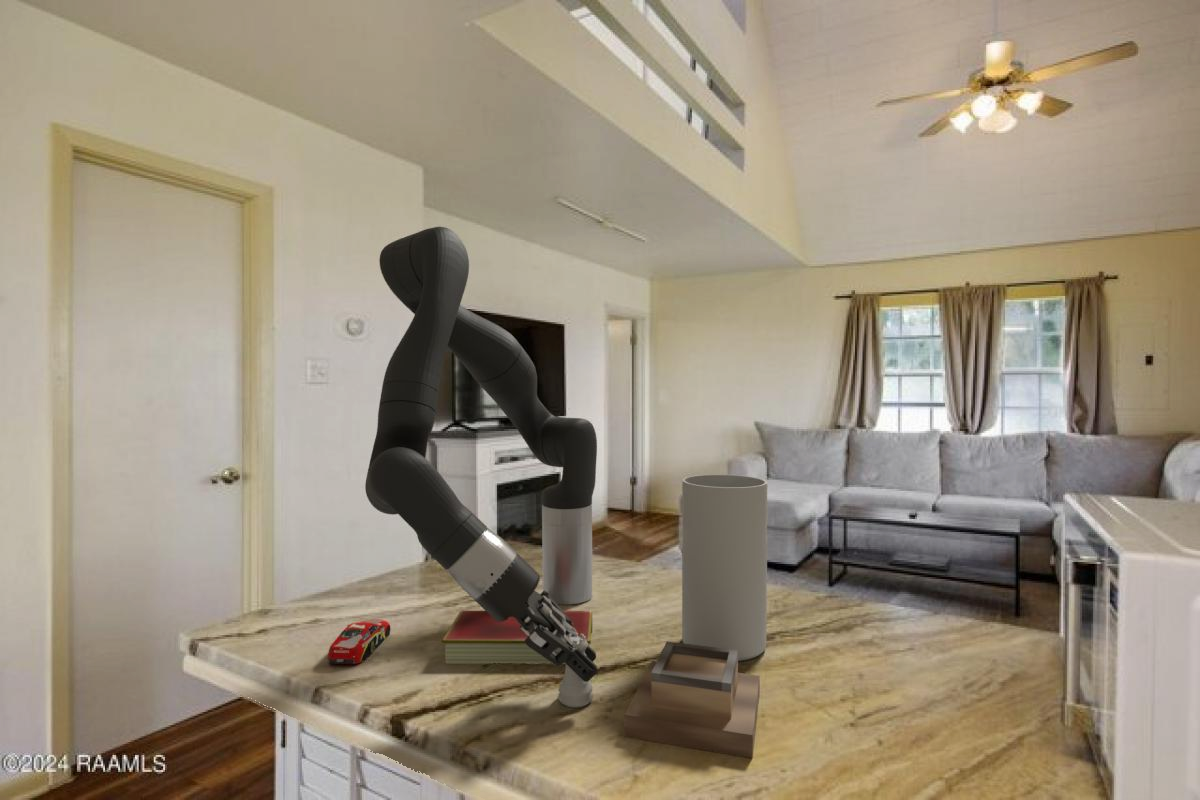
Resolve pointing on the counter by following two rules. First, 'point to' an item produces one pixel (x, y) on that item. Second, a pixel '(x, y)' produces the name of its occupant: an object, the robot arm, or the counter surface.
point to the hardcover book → (498, 639)
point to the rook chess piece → (575, 681)
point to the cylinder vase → (724, 563)
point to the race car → (358, 641)
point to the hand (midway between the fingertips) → (591, 667)
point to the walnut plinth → (695, 723)
